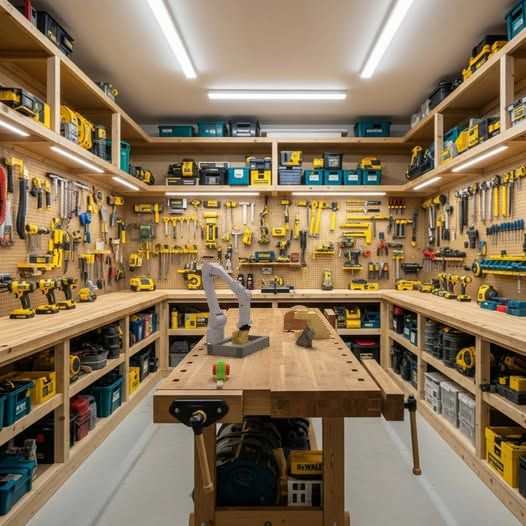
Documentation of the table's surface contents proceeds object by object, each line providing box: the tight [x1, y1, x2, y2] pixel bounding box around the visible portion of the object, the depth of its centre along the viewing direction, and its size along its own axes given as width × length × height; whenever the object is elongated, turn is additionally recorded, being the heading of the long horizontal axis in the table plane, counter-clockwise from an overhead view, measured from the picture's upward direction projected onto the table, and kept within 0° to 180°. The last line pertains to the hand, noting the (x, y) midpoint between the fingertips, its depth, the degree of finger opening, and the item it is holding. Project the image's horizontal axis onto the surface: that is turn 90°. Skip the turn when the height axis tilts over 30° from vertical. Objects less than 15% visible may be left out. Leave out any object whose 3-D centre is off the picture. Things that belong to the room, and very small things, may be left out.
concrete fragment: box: [294, 325, 315, 348], centre depth 209 cm, size 6×19×11 cm, turn 29°
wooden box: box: [283, 305, 311, 331], centre depth 268 cm, size 30×16×14 cm, turn 169°
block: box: [231, 329, 249, 345], centre depth 201 cm, size 6×6×6 cm
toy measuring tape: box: [211, 360, 231, 389], centre depth 147 cm, size 6×20×7 cm, turn 3°
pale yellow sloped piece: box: [293, 309, 331, 339], centre depth 234 cm, size 20×9×16 cm, turn 93°
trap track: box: [206, 334, 270, 358], centre depth 201 cm, size 19×31×4 cm, turn 155°
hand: (244, 339), depth 206 cm, fingers closed
